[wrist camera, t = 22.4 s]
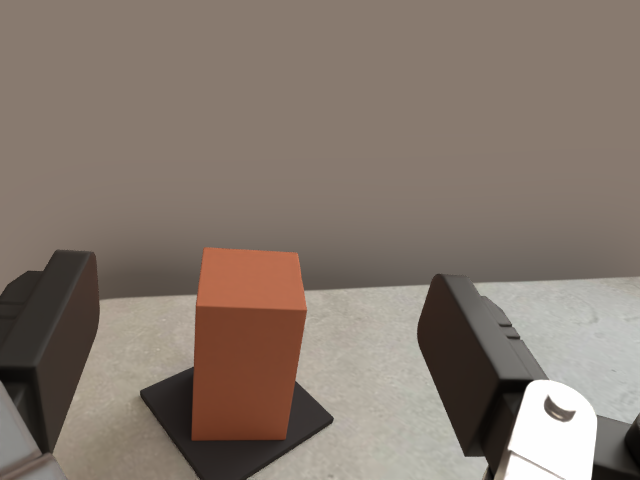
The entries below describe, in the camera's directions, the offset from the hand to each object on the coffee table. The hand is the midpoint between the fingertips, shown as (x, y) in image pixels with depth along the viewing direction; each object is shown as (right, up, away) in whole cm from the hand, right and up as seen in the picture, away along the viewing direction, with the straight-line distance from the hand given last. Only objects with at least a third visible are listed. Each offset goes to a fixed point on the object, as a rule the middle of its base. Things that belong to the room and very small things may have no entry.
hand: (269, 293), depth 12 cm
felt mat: (-4, -9, +18) cm, 20 cm away
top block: (-3, -8, +17) cm, 20 cm away
